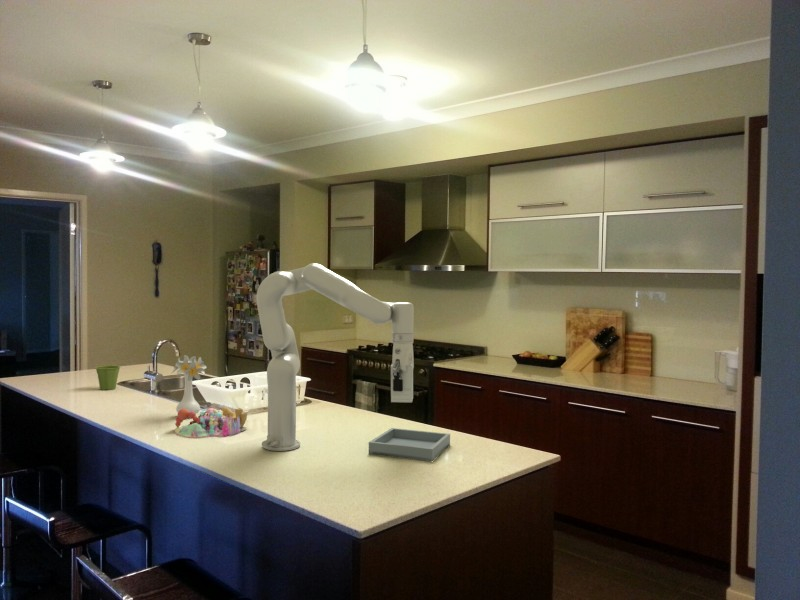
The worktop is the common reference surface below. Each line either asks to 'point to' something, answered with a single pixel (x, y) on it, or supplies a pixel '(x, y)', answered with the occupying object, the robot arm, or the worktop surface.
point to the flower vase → (189, 381)
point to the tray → (409, 444)
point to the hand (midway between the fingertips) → (402, 388)
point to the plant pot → (107, 376)
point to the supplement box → (407, 386)
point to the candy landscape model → (211, 423)
